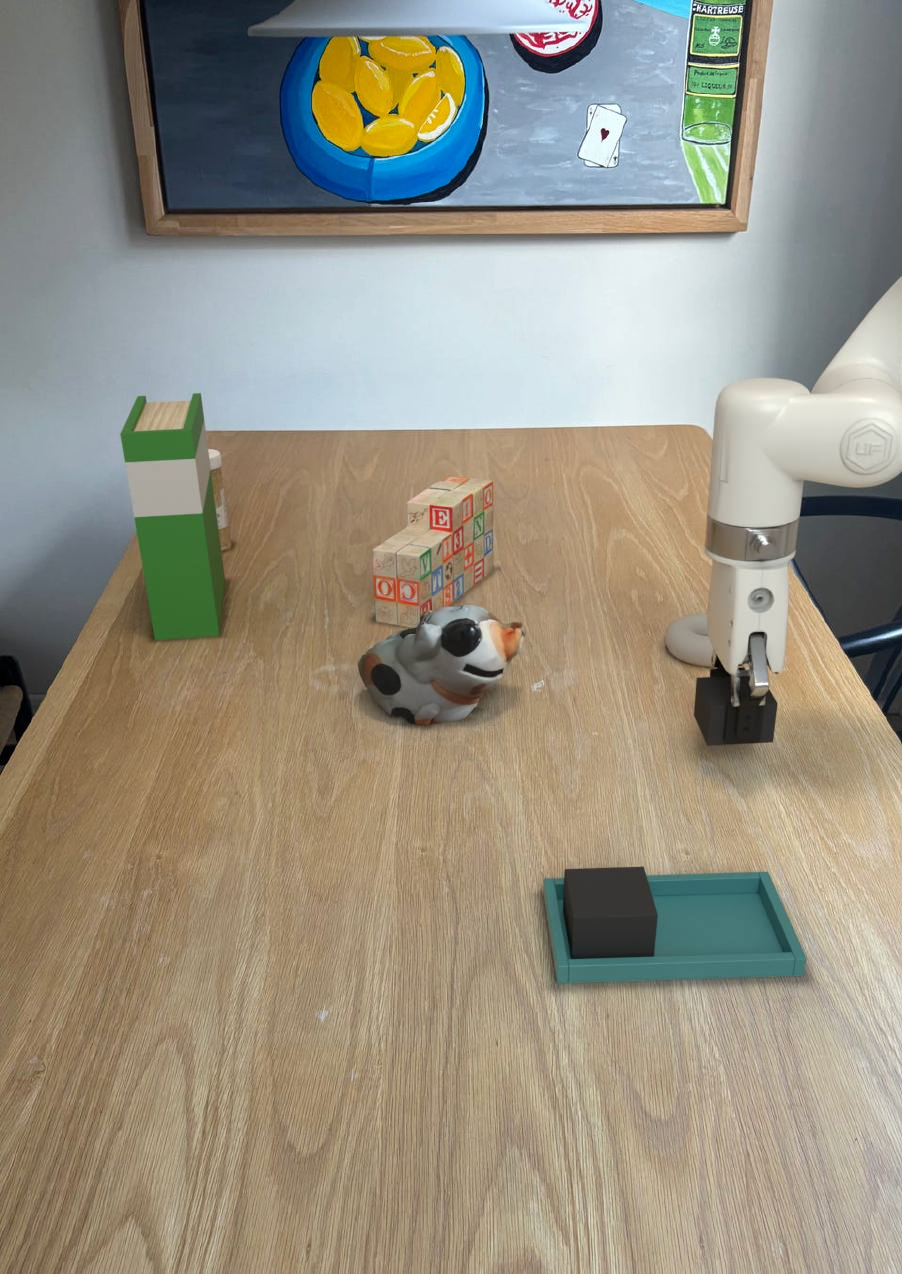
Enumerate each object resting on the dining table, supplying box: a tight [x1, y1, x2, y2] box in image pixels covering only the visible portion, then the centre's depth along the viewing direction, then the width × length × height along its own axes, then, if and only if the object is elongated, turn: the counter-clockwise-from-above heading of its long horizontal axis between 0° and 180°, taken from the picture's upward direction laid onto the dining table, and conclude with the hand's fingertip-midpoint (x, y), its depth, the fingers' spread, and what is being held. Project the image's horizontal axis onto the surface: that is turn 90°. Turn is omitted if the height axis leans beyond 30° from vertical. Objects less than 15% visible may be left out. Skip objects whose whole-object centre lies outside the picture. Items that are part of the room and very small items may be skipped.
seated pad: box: [563, 866, 658, 959], centre depth 85 cm, size 6×6×4 cm
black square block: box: [693, 676, 779, 747], centre depth 106 cm, size 6×6×4 cm
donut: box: [664, 612, 713, 668], centre depth 128 cm, size 10×4×10 cm
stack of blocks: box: [372, 475, 495, 629], centre depth 142 cm, size 21×6×12 cm, turn 155°
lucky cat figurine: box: [357, 603, 527, 727], centre depth 116 cm, size 15×12×14 cm
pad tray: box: [542, 871, 808, 984], centre depth 86 cm, size 18×11×2 cm, turn 91°
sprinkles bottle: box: [208, 448, 232, 552], centre depth 158 cm, size 5×5×14 cm
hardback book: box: [120, 392, 226, 641], centre depth 136 cm, size 18×7×24 cm, turn 7°
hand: (733, 722), depth 106 cm, fingers closed on black square block, 6 cm apart
